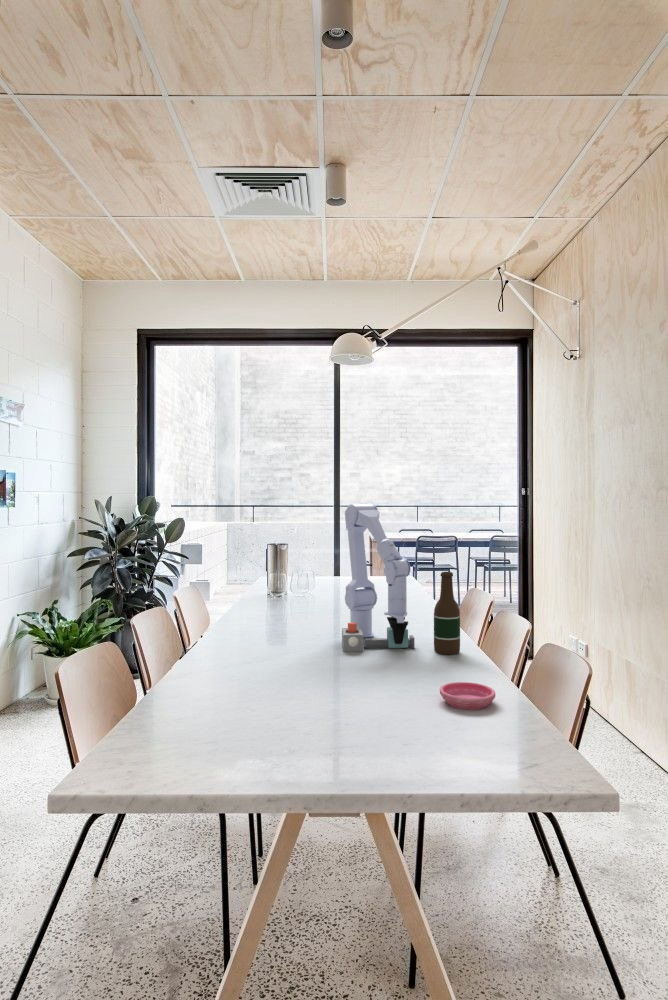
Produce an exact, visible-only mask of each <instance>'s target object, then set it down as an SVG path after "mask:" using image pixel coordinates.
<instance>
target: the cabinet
mask: <svg viewBox="0 0 668 1000" xmlns="http://www.w3.org/2000/svg"><path fill="white" fill-rule="evenodd" d="M341 646H342V647H341V648H342V650H343V653H345V652H349V653H350V652H351V653H352V652H364V637H363V633H362V630H361V628H357V633H348V627H346V628H345V627H343V628H342V627H341Z"/></svg>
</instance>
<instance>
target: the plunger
mask: <svg viewBox="0 0 668 1000" xmlns="http://www.w3.org/2000/svg"><path fill="white" fill-rule="evenodd" d="M347 628H348V633H357V623H354V622H351V623H350V622H347Z"/></svg>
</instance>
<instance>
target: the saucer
mask: <svg viewBox="0 0 668 1000" xmlns="http://www.w3.org/2000/svg"><path fill="white" fill-rule="evenodd" d="M439 694H440V696H441V697H442V699H443V700H445V702H446V704H447V705H449V706H450V705H451V707H454V708H456V709H462V710H480V709H485V708H487V707H488V706H489V705H490V704H491V703H492V702H493V701H494V700H495V699H496V691H495V690H494V689H493V688H492V687H490V686H488V685H485V684H481V683H477V682H467V681H456V682H448V683H445V684H443V685H441V686H440V688H439Z"/></svg>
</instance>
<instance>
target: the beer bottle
mask: <svg viewBox="0 0 668 1000" xmlns="http://www.w3.org/2000/svg"><path fill="white" fill-rule="evenodd" d="M440 576H441V577H440V578H441V579H440V580H441V581H440V595H439V598H438V600H437V602H436V604H435V606H434V609H433V651H434V652H435V653H436V654H438V655H445V656H452V655H453V656H454V655H459V653H460V652H461V613H460V612H461V611H460V606H459V605H458V602H457V601H456V600H455V596H454V585H453V584H454V583H453V577H454V573H453V572H452V571H442V572H440Z"/></svg>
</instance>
